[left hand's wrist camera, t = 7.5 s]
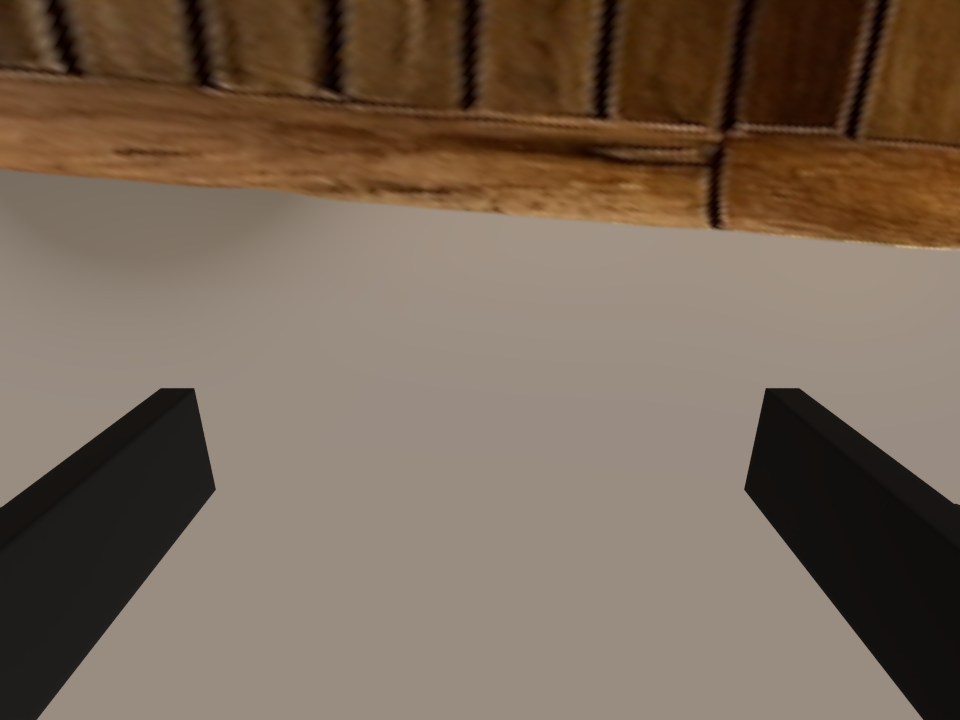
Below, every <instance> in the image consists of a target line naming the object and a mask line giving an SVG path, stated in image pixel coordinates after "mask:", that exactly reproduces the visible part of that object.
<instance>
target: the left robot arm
mask: <svg viewBox="0 0 960 720" xmlns="http://www.w3.org/2000/svg"><path fill="white" fill-rule="evenodd" d="M215 490H216V488H215V484H214V479H213V474H212V470H211V465H210V460H209V456H208V451H207V446H206V442H205V437H204V432H203V428H202V423H201V418H200V413H199V409H198V404H197V399H196V395H195V390H194V388H161V389H159V390H158V391H157V392H155V393H154V394H153V395H151V396H150V397H149V398H147V399H146V400H145V401H143V402H142V403H141V404H139V405H138V406H136V407H135V408H134V409H132V410H131V411H130V412H129V413H127V414H126V415H125V416H123V417H122V418H120V419H119V420H118V421H116V422H115V423H114V424H112V425H111V426H110V427H108V428H107V429H106V430H104V431H103V432H102V433H100V434H99V435H98V436H96V437H95V438H94V439H92V440H91V441H90V442H88V443H87V444H86V445H84V446H83V447H82V448H80V449H79V450H78V451H76V452H75V453H74V454H72V455H71V456H70V457H68V458H67V459H66V460H64V461H63V462H61V463H60V464H59V465H57V466H56V467H55V468H53V469H52V470H51V471H49V472H48V473H47V474H45V475H44V476H43V477H41V478H40V479H39V480H37V481H36V482H35V483H33V484H32V485H31V486H29V487H28V488H27V489H25V490H24V491H23V492H21V493H20V494H19V495H17V496H16V497H15V498H13V499H12V500H11V501H9V502H8V503H7V504H5V505H4V506H3V507H1V508H0V720H37V719H38V717H39V716H40V715H41V713H42V712H43V711H44V710H45V708H46V707H47V706H48V704H49V703H50V702H51V701H52V699H53V698H54V697H55V695H56V694H57V693H58V692H59V690H60V689H61V688H62V686H63V685H64V684H65V683H66V681H67V680H68V679H69V677H70V676H71V675H72V674H73V672H74V671H75V670H76V669H77V667H78V666H79V665H80V663H81V662H82V661H83V659H84V658H85V657H86V656H87V654H88V653H89V652H90V650H91V649H92V648H93V647H94V645H95V644H96V643H97V642H98V640H99V639H100V638H101V636H102V635H103V634H104V633H105V631H106V630H107V629H108V627H109V626H110V625H111V624H112V622H113V621H114V620H115V618H116V617H117V616H118V615H119V613H120V612H121V611H122V609H123V608H124V607H125V606H126V604H127V603H128V602H129V600H130V599H131V598H132V597H133V595H134V594H135V593H136V591H137V590H138V589H139V588H140V586H141V585H142V584H143V582H144V581H145V580H146V579H147V577H148V576H149V575H150V573H151V572H152V571H153V570H154V568H155V567H156V566H157V564H158V563H159V562H160V561H161V559H162V558H163V557H164V555H165V554H166V553H167V552H168V550H169V549H170V548H171V546H172V545H173V544H174V543H175V541H176V540H177V539H178V537H179V536H180V535H181V534H182V532H183V531H184V530H185V528H186V527H187V526H188V525H189V523H190V522H191V521H192V519H193V518H194V517H195V516H196V514H197V513H198V512H199V510H200V509H201V508H202V507H203V505H204V504H205V503H206V501H207V500H208V499H209V498H210V496H211V495H212V494H213V492H214V491H215ZM744 490H745V491H746V492H747V494H748V495H749V496H750V498H751V499H752V500H753V501H754V503H755V504H756V505H757V507H758V508H759V509H760V510H761V512H762V513H763V514H764V516H765V517H766V518H767V519H768V521H769V522H770V523H771V525H772V526H773V527H774V528H775V530H776V531H777V532H778V534H779V535H780V536H781V537H782V539H783V540H784V541H785V543H786V544H787V545H788V546H789V548H790V549H791V550H792V552H793V553H794V554H795V555H796V557H797V558H798V559H799V561H800V562H801V563H802V564H803V566H804V567H805V568H806V570H807V571H808V572H809V573H810V575H811V576H812V577H813V578H814V580H815V581H816V582H817V584H818V585H819V586H820V588H821V589H822V590H823V591H824V593H825V594H826V595H827V597H828V598H829V599H830V600H831V602H832V603H833V604H834V605H835V607H836V608H837V609H838V611H839V612H840V613H841V615H842V616H843V617H844V618H845V620H846V621H847V622H848V623H849V625H850V626H851V627H852V629H853V630H854V631H855V633H856V634H857V635H858V636H859V638H860V639H861V640H862V642H863V643H864V644H865V645H866V647H867V648H868V649H869V650H870V652H871V653H872V654H873V656H874V657H875V658H876V660H877V661H878V662H879V663H880V665H881V666H882V667H883V668H884V670H885V671H886V672H887V674H888V675H889V676H890V677H891V679H892V680H893V681H894V683H895V684H896V685H897V686H898V688H899V689H900V690H901V692H902V693H903V694H904V695H905V697H906V698H907V699H908V701H909V702H910V703H911V704H912V706H913V707H914V708H915V710H916V711H917V712H918V713H919V715H920V716H921V717H922V718H923V720H960V505H958V504H953V503H952V502H951V501H949V500H948V499H947V498H945V497H944V496H943V495H941V494H940V493H939V492H937V491H936V490H935V489H933V488H932V487H931V486H929V485H928V484H927V483H925V482H924V481H923V480H921V479H920V478H919V477H917V476H916V475H915V474H913V473H912V472H911V471H909V470H908V469H907V468H905V467H904V466H902V465H901V464H900V463H898V462H897V461H896V460H894V459H893V458H892V457H890V456H889V455H888V454H886V453H885V452H884V451H882V450H881V449H880V448H878V447H877V446H876V445H874V444H873V443H872V442H870V441H869V440H868V439H866V438H865V437H864V436H862V435H861V434H860V433H858V432H857V431H856V430H854V429H853V428H852V427H850V426H849V425H848V424H846V423H845V422H844V421H842V420H841V419H839V418H838V417H837V416H836V415H834V414H833V413H831V412H830V411H829V410H828V409H826V408H825V407H824V406H822V405H821V404H820V403H818V402H817V401H815V400H814V399H813V398H811V397H810V396H809V395H807V394H806V393H805V392H803V391H802V390H801V389H799V388H766V390H765V394H764V399H763V404H762V409H761V413H760V418H759V423H758V427H757V432H756V437H755V441H754V446H753V451H752V456H751V460H750V465H749V470H748V474H747V479H746V484H745V488H744Z"/></svg>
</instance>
